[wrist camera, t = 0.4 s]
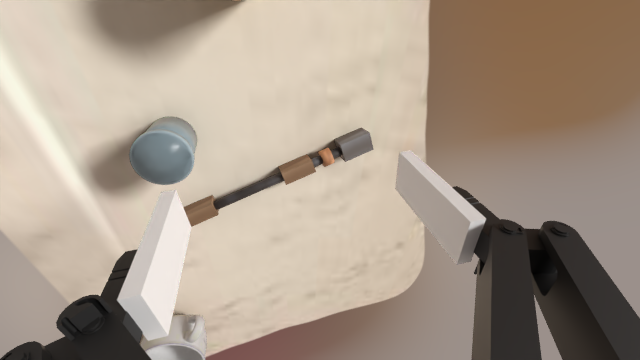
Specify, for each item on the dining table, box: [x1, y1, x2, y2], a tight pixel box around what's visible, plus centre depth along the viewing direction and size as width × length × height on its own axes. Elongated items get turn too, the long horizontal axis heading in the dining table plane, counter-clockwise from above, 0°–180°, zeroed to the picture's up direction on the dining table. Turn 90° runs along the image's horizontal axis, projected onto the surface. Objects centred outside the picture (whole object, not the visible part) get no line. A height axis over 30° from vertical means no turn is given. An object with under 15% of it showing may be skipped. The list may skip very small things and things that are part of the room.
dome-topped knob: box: [129, 117, 197, 185], centre depth 35 cm, size 6×6×8 cm
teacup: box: [140, 315, 207, 360], centre depth 49 cm, size 14×11×8 cm
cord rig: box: [183, 128, 373, 227], centre depth 44 cm, size 3×32×3 cm, turn 109°
